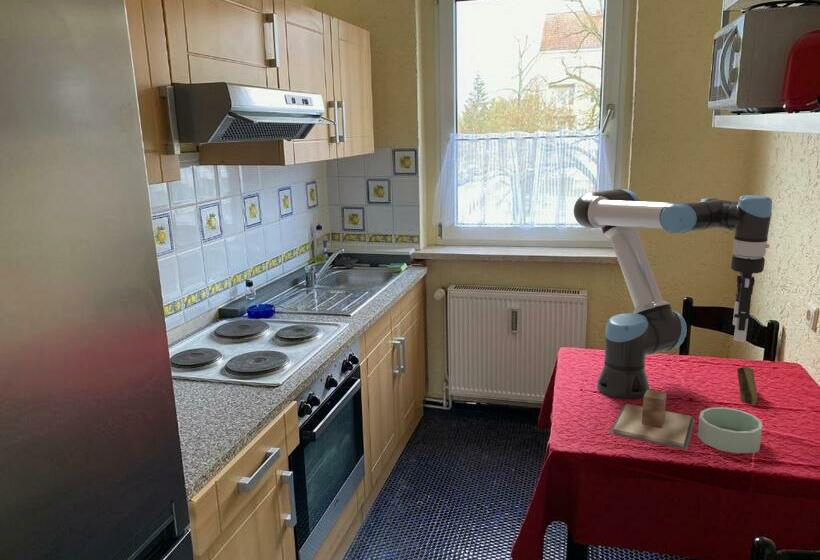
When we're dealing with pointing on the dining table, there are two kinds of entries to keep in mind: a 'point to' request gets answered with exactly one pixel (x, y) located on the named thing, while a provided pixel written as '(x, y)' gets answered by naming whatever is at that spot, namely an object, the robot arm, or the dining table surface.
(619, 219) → the robot arm
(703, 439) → the bowl
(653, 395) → the lid
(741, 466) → the dining table surface
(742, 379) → the rock
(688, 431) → the mat
